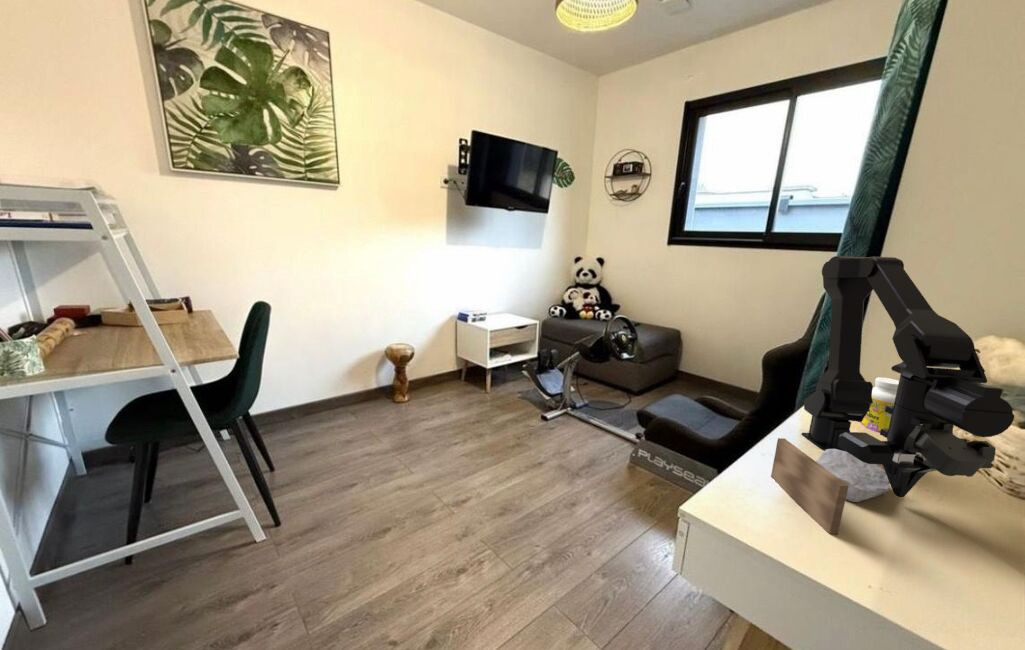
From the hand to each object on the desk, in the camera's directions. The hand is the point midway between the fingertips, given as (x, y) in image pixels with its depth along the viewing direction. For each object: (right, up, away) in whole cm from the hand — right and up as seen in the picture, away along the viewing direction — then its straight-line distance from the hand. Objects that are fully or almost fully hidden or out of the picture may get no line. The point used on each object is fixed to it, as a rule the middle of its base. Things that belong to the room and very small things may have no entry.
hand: (898, 495), depth 65 cm
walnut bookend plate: (-16, -1, 0) cm, 16 cm away
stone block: (-1, -1, +1) cm, 2 cm away
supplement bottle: (+21, +3, +27) cm, 34 cm away
